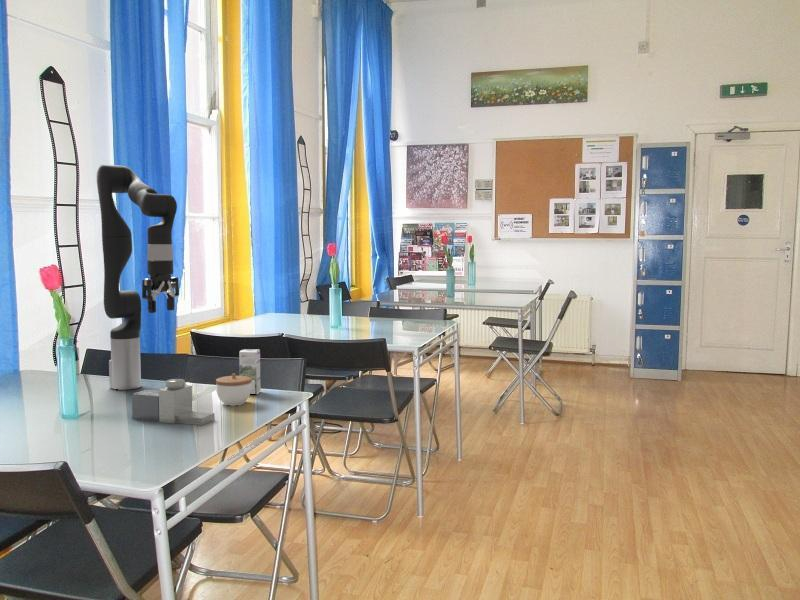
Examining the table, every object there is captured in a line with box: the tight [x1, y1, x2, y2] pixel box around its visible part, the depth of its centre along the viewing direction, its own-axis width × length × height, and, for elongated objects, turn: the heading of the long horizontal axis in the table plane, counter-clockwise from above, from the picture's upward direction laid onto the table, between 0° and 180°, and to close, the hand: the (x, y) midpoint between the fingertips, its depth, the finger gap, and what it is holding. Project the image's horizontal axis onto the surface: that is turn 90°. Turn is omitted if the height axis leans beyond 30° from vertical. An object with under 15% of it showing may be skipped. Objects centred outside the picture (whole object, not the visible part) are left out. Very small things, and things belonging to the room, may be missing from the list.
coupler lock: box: [131, 389, 159, 422], centre depth 192 cm, size 10×6×7 cm, turn 71°
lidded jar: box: [215, 372, 252, 407], centre depth 208 cm, size 11×11×9 cm
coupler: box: [158, 378, 216, 426], centre depth 189 cm, size 23×8×11 cm, turn 71°
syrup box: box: [238, 348, 262, 394], centre depth 222 cm, size 6×6×14 cm
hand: (161, 311), depth 210 cm, fingers open, 8 cm apart
